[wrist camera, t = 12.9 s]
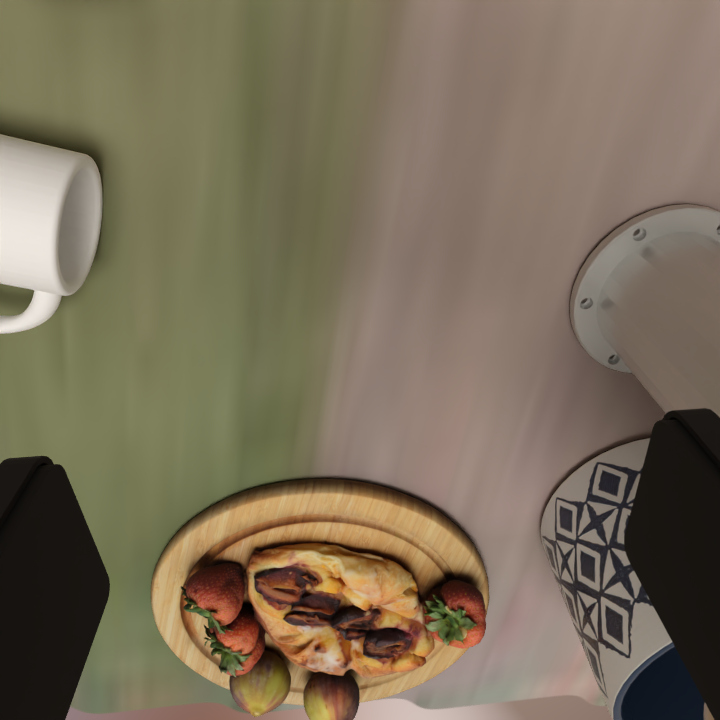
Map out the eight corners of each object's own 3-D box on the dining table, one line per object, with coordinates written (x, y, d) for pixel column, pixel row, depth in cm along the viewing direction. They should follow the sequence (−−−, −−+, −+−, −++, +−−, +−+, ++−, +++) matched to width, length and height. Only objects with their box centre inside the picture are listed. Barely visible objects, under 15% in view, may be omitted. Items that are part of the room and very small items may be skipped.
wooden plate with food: (508, 468, 51) (535, 544, 44) (466, 685, 67) (481, 765, 60) (127, 471, 50) (92, 549, 43) (179, 690, 66) (160, 773, 59)
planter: (557, 433, 49) (652, 611, 35) (772, 427, 50) (949, 598, 36) (523, 580, 58) (587, 765, 44) (704, 573, 59) (822, 753, 45)
